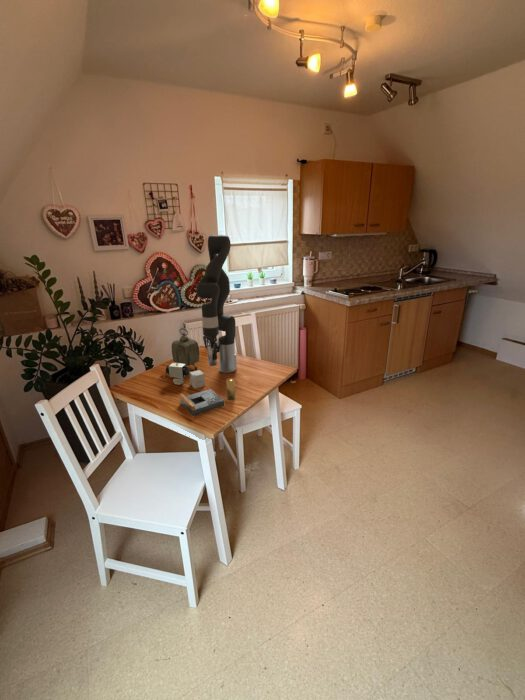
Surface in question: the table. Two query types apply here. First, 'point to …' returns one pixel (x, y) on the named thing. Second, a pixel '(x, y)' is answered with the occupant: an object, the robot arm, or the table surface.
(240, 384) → the table surface
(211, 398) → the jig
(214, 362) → the translucent grey cylinder
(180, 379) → the pneumatic valve
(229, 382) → the brass bushing
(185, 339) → the olive green lantern
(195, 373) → the skincare box
